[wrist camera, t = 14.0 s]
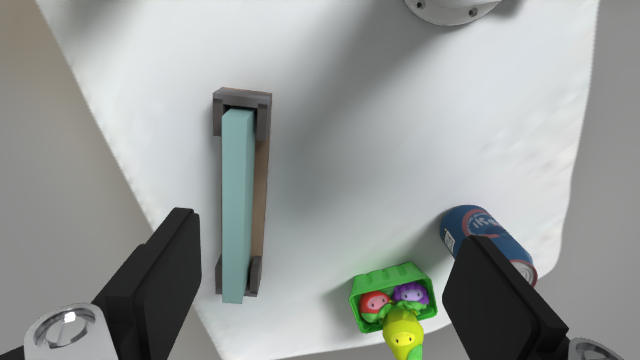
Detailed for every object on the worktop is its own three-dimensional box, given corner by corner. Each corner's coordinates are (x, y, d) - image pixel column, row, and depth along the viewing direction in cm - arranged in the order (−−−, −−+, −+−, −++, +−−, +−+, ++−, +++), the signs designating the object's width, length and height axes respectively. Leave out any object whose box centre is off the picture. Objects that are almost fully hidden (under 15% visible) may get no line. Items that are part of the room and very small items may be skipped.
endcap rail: (272, 93, 36) (267, 99, 33) (261, 276, 47) (256, 296, 44) (222, 87, 36) (212, 93, 32) (223, 273, 47) (215, 293, 43)
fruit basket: (418, 251, 46) (449, 313, 36) (428, 295, 50) (458, 363, 40) (343, 271, 47) (352, 336, 37) (358, 312, 51) (370, 382, 41)
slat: (235, 104, 36) (221, 116, 31) (256, 106, 36) (247, 119, 31) (233, 270, 46) (222, 302, 40) (249, 272, 46) (241, 304, 40)
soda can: (490, 199, 43) (552, 255, 32) (480, 242, 46) (534, 306, 35) (439, 201, 43) (484, 257, 32) (433, 243, 46) (471, 308, 35)
